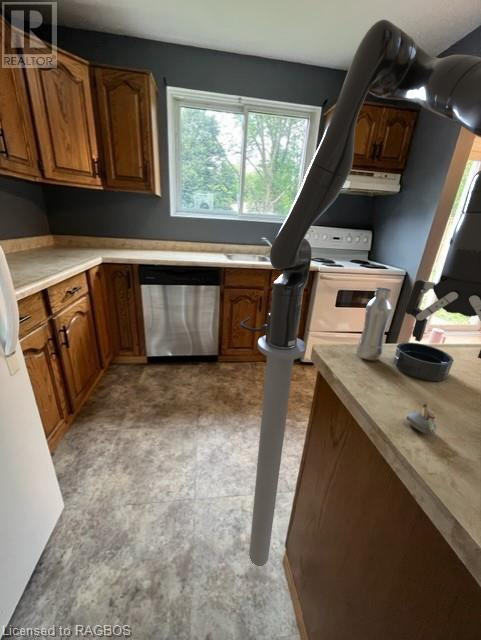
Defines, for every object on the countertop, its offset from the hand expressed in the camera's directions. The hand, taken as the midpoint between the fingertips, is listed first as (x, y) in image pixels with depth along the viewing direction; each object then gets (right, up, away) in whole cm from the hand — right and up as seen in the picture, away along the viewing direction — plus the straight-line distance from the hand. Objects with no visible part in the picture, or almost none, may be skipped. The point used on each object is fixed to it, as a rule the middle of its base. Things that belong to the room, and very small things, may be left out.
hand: (447, 348), depth 45 cm
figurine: (-1, -16, +6) cm, 17 cm away
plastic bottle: (+2, -6, +32) cm, 33 cm away
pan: (+13, -9, +27) cm, 31 cm away
